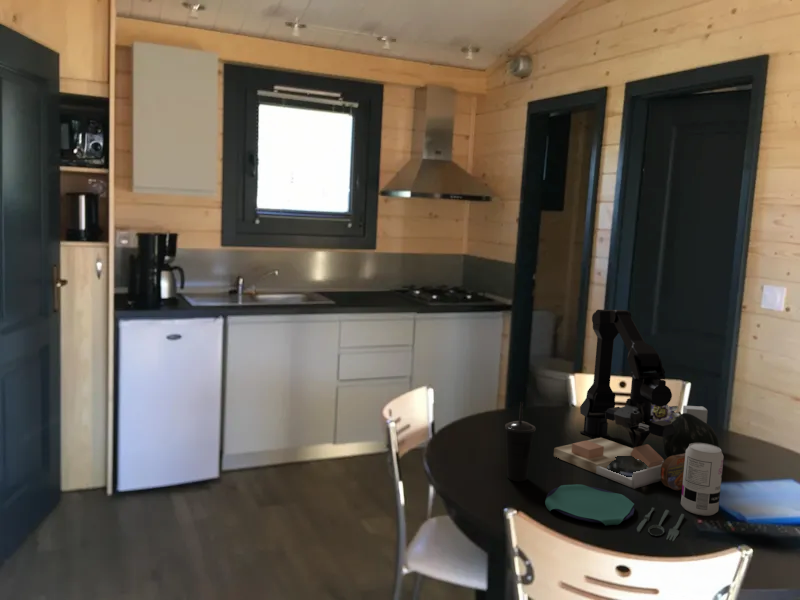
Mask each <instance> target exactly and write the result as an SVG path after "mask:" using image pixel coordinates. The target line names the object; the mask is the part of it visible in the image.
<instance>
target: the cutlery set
mask: <svg viewBox="0 0 800 600" xmlns="http://www.w3.org/2000/svg"><path fill="white" fill-rule="evenodd" d="M544 503H545V507H546V509H547V510H548V511H549V512H551V511H552V510H555V511H557V512H558V513H560V514H562V515H564V516H566V517H569V518H573V519H576V520H579V521H584V522H589V523H599V524H603V525H604V526H619V524H621V523H622V522H623V521H627V520H629V519H630V518H631V517H633V516H634V513H635V507H634V505H635V503H634V502H632V500H631V499H629V498H628V497H627V496H625V495H624V494H621V493H616V492H614V491H610V490H607V489H603V488H599V487H595V486H588V485H585V484H577V483H576V484H563V485H560V486H559V487H555V488H553V489H551V490H549V491H548V492H547V494H546V498H545V501H544ZM650 509H651V510H650V511H649V512H648V513H647V514H645V515H643V519H642V520H641V522H639V524H638V525H637V527H636V532H637V533H638V534H639V533H640V532H641V531H642V529H643V528H644V526H645V525H646V523H647V522H650V521H649V520H650V518H651V515H652V513H653V512H655V511H656V509H655V507H651V508H650ZM669 513H670V510H669V509H665V511H664V512H663V514H662V516H661V518H660V521H659V523H658V524H653V525H650V526H649V527H648V529H647V532H648V533H649V534H650V535H651V536H655V537H658V536H662V535H664V533H665V528H664V527H663V526H662V524H663V523H664V520H665V519H666V518H667V516H668V515H669ZM684 519H685V514H684V513H681V514H680V516H679V518H678V521H677V522H676V524H675V525H674V526H672V528H669V530H668V533H667V536H666V539H665V541H668V539H669V541H670V542H671V540H672V542H674V541H675V539H676V538H677V537H678V536H679V534H680V530H678V529H679V528H680V526H681V524H682V522H683V520H684ZM652 529H659V530H661V532H662V533H661V534H652V533H651V532H650V531H651V530H652Z"/></svg>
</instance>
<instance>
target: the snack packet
mask: <svg viewBox="0 0 800 600" xmlns="http://www.w3.org/2000/svg"><path fill="white" fill-rule="evenodd" d="M663 461H664V462H663V464H662V466H661V473H660V475H661V481H660V482H661V483H662V484H663V486H665V487H666V488H669V489H671V490H673V491H680V490H681V491H682V485H683V474H684V464H685V453H684V454H679V455H674V456H670V457H666V458H665V459H664V460H663Z"/></svg>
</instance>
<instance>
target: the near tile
mask: <svg viewBox="0 0 800 600" xmlns="http://www.w3.org/2000/svg"><path fill="white" fill-rule="evenodd" d="M571 444H572V453H574V454H577V455H580V456H582V457H585V458H588V459H590V458H594V457H598V456H602V455H603V451H604V446H601V445H598V444H595V443H593V442H590V441H587V440H582V441H577V442H574V443H571Z"/></svg>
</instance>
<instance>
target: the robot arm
mask: <svg viewBox="0 0 800 600" xmlns="http://www.w3.org/2000/svg"><path fill="white" fill-rule="evenodd" d="M591 322H592V330H593V332H594V333H595V335H596V337H597V340H596V349H595V351H596V352H595V360H594V361H595V362H594V373H593V383H592V385H591V386H590V387H589V389H588V390H587V391H586V398H585V399H584V401H583V402H582V403H581V405H580V407H579V410H580V414H581V416H584V420H583V421H584V422H583V430H581V431H580V434H581V433H582V435H584V434H585V436H587V435H588V436H587V437H591V438H592V439H596V438H604V437H609V436H610V433H608V425H609V423H608V420H609V421H613V422H614V421H615V424H616V425H618V426H622V427H623V428H624V429H625V430H626V431H627V432H628V434H629V436H630V441H631V445H632V448H633V449H634V447H638V446H642V445H644V442H645V441H646V439H647V438H648V436H649V435H653V436H657V437H660V438H661V437H662V438H663V437H664V436H668V435H672V434H674V430H675V428H674V425H673V424H672V422H671V423H669V422H666V421H662V420H661V421H656V422H652V421H650V420H651V419H653V417H654V415H651V407H652V405H656V406H659V407H662V406H665V405H669V404H670V402H671V400H672V397H673V394H672V390H671V388H669V386H667V385H666V384H667V381H666V380H665V379H666V375H665V373H666V371H665V368H664V366H663V364H662V363H663V362H662V360H661V357H660V355H659V353H658V352H657V350H656V349H655V348H654V347H653V346H651V345H649V343H647V342H646V341H645V340H644V338H643V336H642V334H640V331H639V330H638V328H637V326H636V324H635V322H634V321H633V319H632V313H631V312H630V311H629V310H626V309H597V310H595V312H594V313H593V314H592V315H591ZM618 335H620V336H619V337H620V338H621V339H622V342H623V343H624V345H625V347H626V349H627V351H628V353H627V358H626V359H627V363H628V365H629V369H630V370H631V372H629V374H628V375H629V377H631V386H630V397H629V398H627V399H626V400H625V405H623V406H616V393H615V392H613V390H612V388H611V375H612V366H613V355H614V354H613V352H614V344H615V342H614V341H615V339H616V338H617V336H618Z"/></svg>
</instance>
